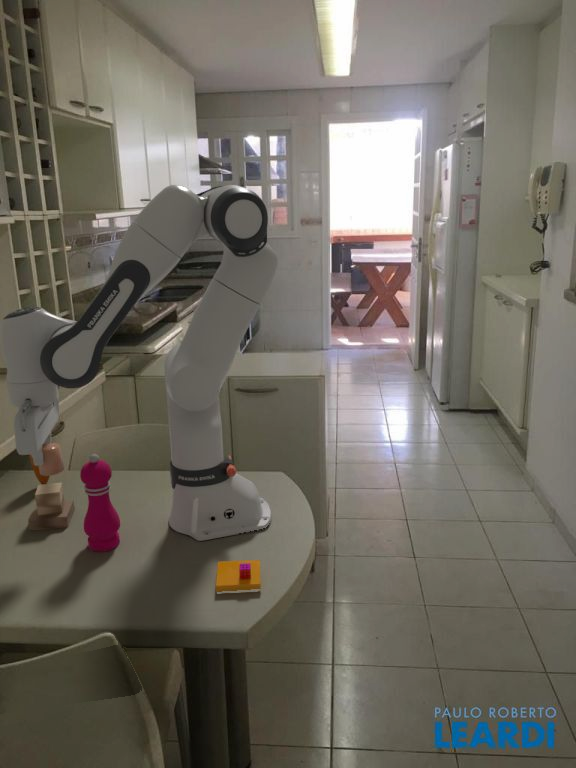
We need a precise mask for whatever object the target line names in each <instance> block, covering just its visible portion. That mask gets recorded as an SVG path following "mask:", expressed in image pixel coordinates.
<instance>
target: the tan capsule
mask: <svg viewBox="0 0 576 768" xmlns="http://www.w3.org/2000/svg"><path fill="white" fill-rule="evenodd" d="M42 453H43V454H44V459H45V461H44V463H43V465H40V466H39V471H40V474H41V475H43V476H49V477H50V476H56V475H59V474H60V473H62V472H63V471H64V470H65V467H64V466H65V465H64V462H63V461H64V460H63V456H62V450H61V445H60V444H59V443H55V442H51V443H50V444H45V445H42Z"/></svg>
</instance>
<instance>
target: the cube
mask: <svg viewBox="0 0 576 768" xmlns="http://www.w3.org/2000/svg"><path fill="white" fill-rule="evenodd" d="M63 487H64V486H63V482H53V483H47V484H43V485H42V484H38V485H37V488H36V491H35V493H34V496H35V506H36V505H37V512H38V516H40V515H48V514H57V513H62V511H63V507H64V503H65V501H66V500H65V494H64V488H63Z"/></svg>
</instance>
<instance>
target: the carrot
mask: <svg viewBox="0 0 576 768" xmlns="http://www.w3.org/2000/svg"><path fill="white" fill-rule="evenodd" d="M29 459H30V464H31V468H32V469H33V473H34V475H35V477H36V479H37V480H38V482H39V483H40V485H43V484H48V482H49V480H50V476H43V475H41V474H40V471H39V466H35V465H34V463H33V458H32V456H31V454H29Z"/></svg>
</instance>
